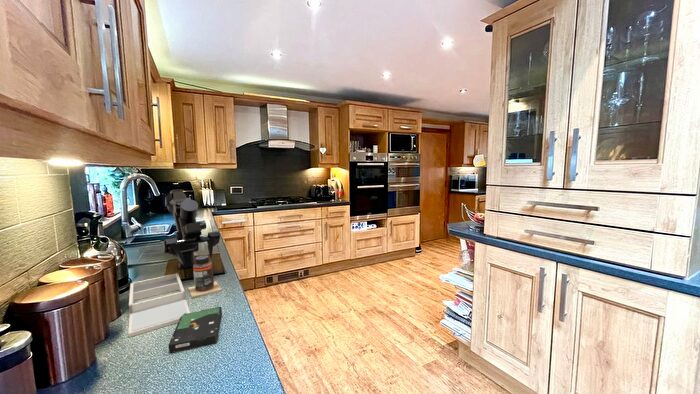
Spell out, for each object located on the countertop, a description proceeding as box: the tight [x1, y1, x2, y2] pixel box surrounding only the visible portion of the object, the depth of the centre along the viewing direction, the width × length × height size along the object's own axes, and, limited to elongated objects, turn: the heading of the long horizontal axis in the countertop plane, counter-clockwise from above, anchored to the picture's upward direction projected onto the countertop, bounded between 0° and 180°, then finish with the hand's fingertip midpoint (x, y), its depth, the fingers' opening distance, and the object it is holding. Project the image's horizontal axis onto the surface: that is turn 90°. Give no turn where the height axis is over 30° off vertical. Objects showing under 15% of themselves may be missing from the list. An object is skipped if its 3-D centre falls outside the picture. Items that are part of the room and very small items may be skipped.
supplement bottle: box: [192, 254, 215, 291], centre depth 96 cm, size 6×6×11 cm
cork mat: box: [187, 280, 223, 299], centre depth 97 cm, size 9×9×1 cm
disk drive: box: [168, 306, 223, 354], centre depth 72 cm, size 10×3×15 cm
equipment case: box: [127, 272, 191, 338], centre depth 87 cm, size 32×14×4 cm, turn 37°
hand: (197, 260), depth 102 cm, fingers open, 9 cm apart
